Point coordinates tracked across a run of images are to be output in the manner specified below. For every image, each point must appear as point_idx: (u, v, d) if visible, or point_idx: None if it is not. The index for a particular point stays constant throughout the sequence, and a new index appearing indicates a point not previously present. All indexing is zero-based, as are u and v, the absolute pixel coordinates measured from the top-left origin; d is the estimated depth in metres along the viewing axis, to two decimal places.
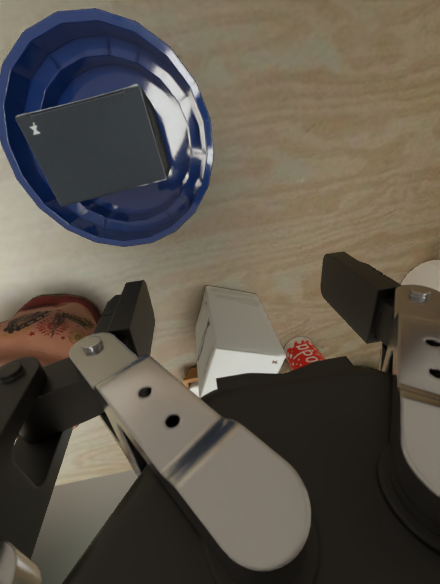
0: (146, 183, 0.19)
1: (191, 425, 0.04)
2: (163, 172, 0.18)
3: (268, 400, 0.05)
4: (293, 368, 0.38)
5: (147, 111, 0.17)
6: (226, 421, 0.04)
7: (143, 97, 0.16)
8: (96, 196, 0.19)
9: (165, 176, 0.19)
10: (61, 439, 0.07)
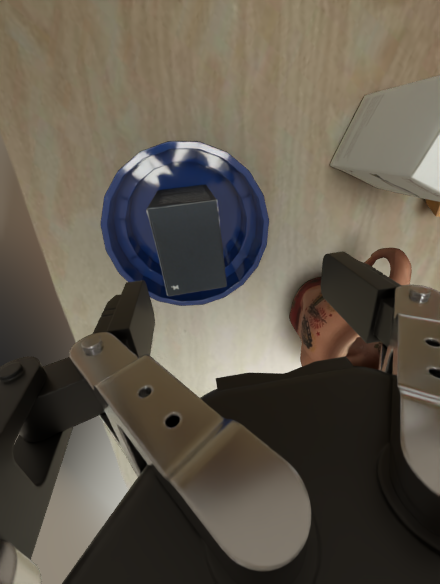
0: (218, 218, 0.21)
1: (191, 425, 0.04)
2: (211, 201, 0.20)
3: (268, 400, 0.05)
4: None
5: (164, 206, 0.20)
6: (226, 421, 0.04)
7: (155, 207, 0.20)
8: (223, 260, 0.23)
9: (214, 200, 0.21)
10: (62, 439, 0.07)
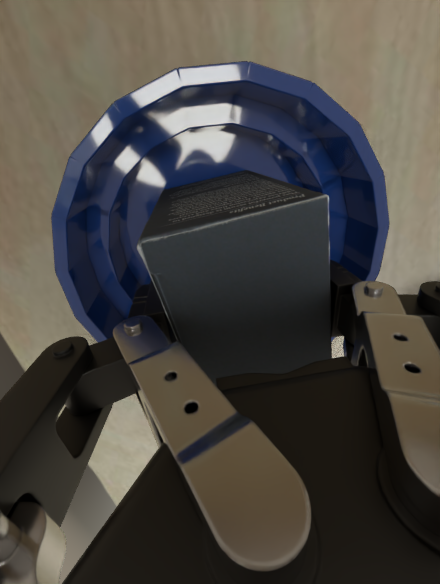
0: (328, 244, 0.08)
1: (207, 415, 0.04)
2: (312, 202, 0.07)
3: (268, 400, 0.05)
4: None
5: (185, 228, 0.07)
6: (242, 417, 0.04)
7: (159, 234, 0.07)
8: (330, 336, 0.10)
9: (321, 197, 0.07)
10: (100, 417, 0.08)
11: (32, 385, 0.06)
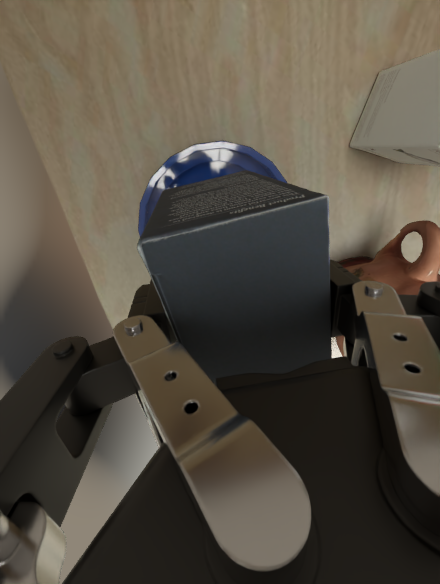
0: (328, 245, 0.08)
1: (208, 415, 0.04)
2: (313, 203, 0.07)
3: (268, 400, 0.05)
4: None
5: (186, 229, 0.07)
6: (242, 417, 0.04)
7: (160, 235, 0.07)
8: (330, 336, 0.10)
9: (321, 198, 0.07)
10: (100, 417, 0.08)
11: (32, 385, 0.06)
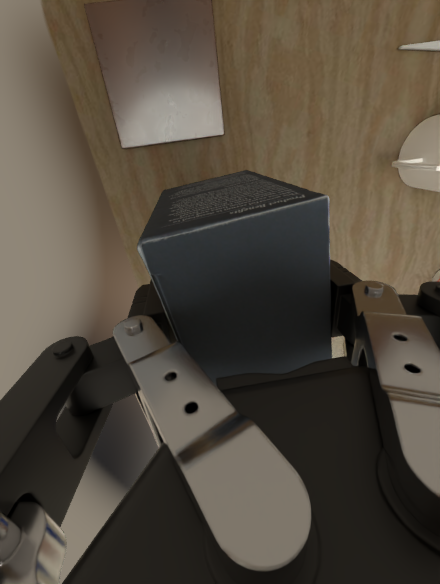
0: (328, 245, 0.08)
1: (208, 415, 0.04)
2: (313, 203, 0.07)
3: (268, 400, 0.05)
4: None
5: (186, 229, 0.07)
6: (242, 416, 0.04)
7: (160, 235, 0.07)
8: (330, 337, 0.10)
9: (321, 198, 0.07)
10: (100, 417, 0.08)
11: (32, 385, 0.06)
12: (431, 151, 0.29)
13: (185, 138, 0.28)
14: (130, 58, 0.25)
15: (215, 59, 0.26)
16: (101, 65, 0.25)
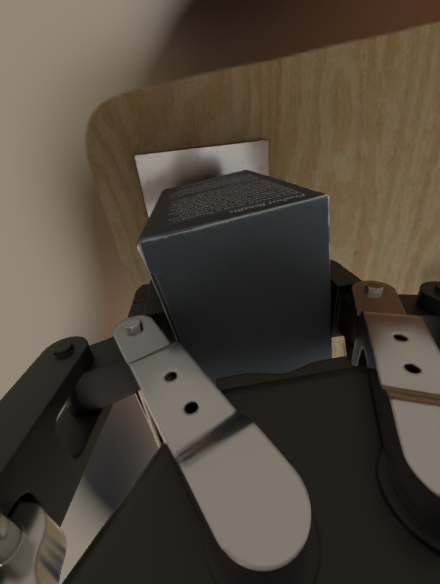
0: (328, 244, 0.08)
1: (207, 415, 0.04)
2: (313, 202, 0.07)
3: (268, 400, 0.05)
4: None
5: (185, 228, 0.07)
6: (242, 417, 0.04)
7: (159, 234, 0.07)
8: (330, 336, 0.10)
9: (321, 197, 0.07)
10: (100, 417, 0.08)
11: (32, 385, 0.06)
12: None
13: None
14: None
15: None
16: (147, 208, 0.23)
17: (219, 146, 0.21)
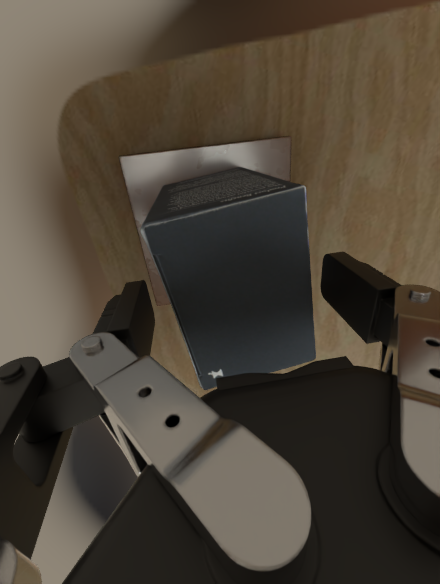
0: (306, 229, 0.09)
1: (191, 425, 0.04)
2: (291, 192, 0.09)
3: (268, 400, 0.05)
4: None
5: (182, 214, 0.09)
6: (226, 421, 0.04)
7: (160, 220, 0.09)
8: (312, 313, 0.11)
9: (299, 188, 0.09)
10: (62, 439, 0.07)
11: None
12: None
13: None
14: None
15: None
16: (137, 222, 0.18)
17: (228, 145, 0.17)
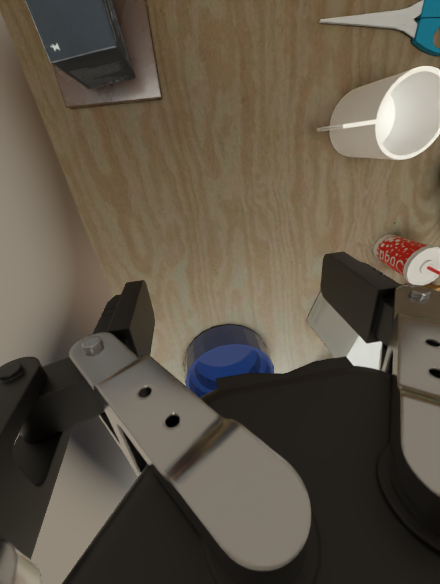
0: None
1: (191, 425, 0.04)
2: None
3: (268, 400, 0.05)
4: None
5: None
6: (227, 421, 0.04)
7: None
8: (101, 2, 0.20)
9: None
10: (62, 439, 0.07)
11: None
12: (349, 116, 0.32)
13: (124, 99, 0.31)
14: None
15: (147, 24, 0.28)
16: None
17: None
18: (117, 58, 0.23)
